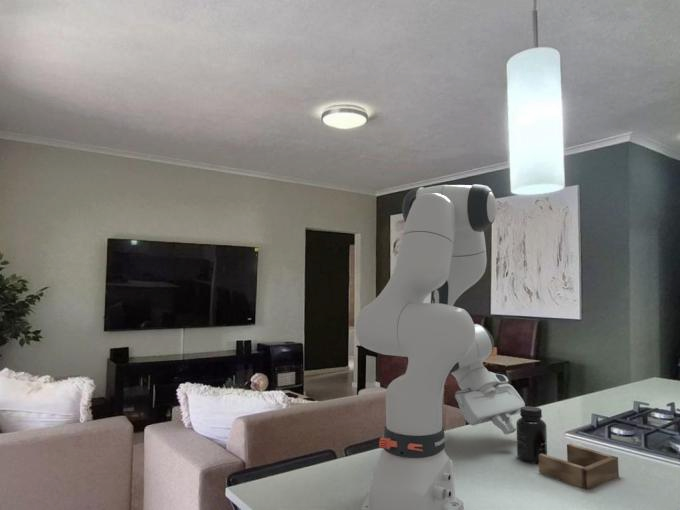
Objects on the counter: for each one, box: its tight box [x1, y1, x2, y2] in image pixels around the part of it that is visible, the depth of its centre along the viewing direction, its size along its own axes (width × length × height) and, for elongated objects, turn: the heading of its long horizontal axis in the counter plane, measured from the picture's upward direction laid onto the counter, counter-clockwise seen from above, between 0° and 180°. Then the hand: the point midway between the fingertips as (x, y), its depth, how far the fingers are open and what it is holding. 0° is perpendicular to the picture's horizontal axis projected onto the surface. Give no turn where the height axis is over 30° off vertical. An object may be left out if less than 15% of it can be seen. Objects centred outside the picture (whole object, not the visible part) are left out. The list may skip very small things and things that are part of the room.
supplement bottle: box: [516, 405, 548, 464], centre depth 119 cm, size 7×7×12 cm
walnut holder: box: [538, 443, 620, 491], centre depth 109 cm, size 11×12×4 cm
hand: (510, 432), depth 123 cm, fingers closed
